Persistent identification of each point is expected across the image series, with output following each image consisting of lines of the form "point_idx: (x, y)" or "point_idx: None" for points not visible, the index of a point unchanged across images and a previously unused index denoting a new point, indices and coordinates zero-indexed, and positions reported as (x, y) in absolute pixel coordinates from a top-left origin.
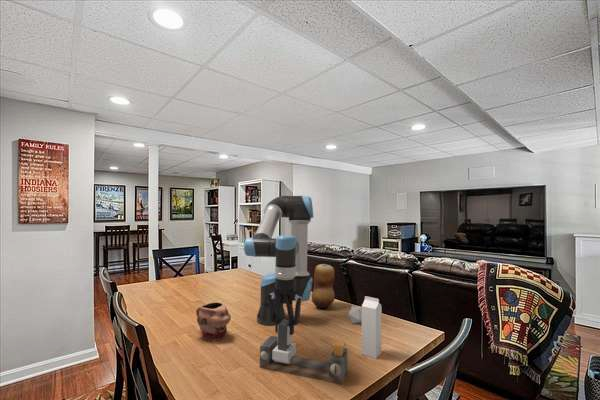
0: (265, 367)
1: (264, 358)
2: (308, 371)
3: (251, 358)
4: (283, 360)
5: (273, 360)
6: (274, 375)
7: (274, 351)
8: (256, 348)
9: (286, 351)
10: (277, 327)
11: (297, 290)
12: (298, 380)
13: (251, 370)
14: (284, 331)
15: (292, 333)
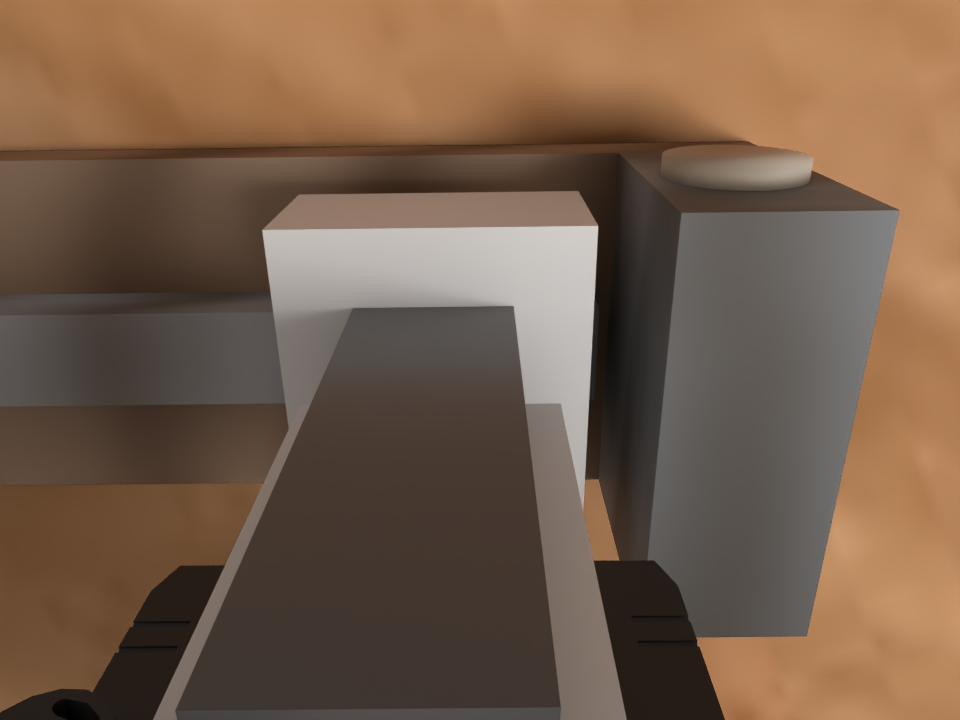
0: (658, 144)
1: (707, 149)
2: (3, 193)
3: (934, 304)
4: (375, 199)
5: None
6: (462, 18)
7: (550, 223)
8: (939, 534)
9: (329, 296)
10: (633, 671)
11: None
12: (98, 28)
13: (836, 13)
14: (305, 527)
15: (152, 596)
